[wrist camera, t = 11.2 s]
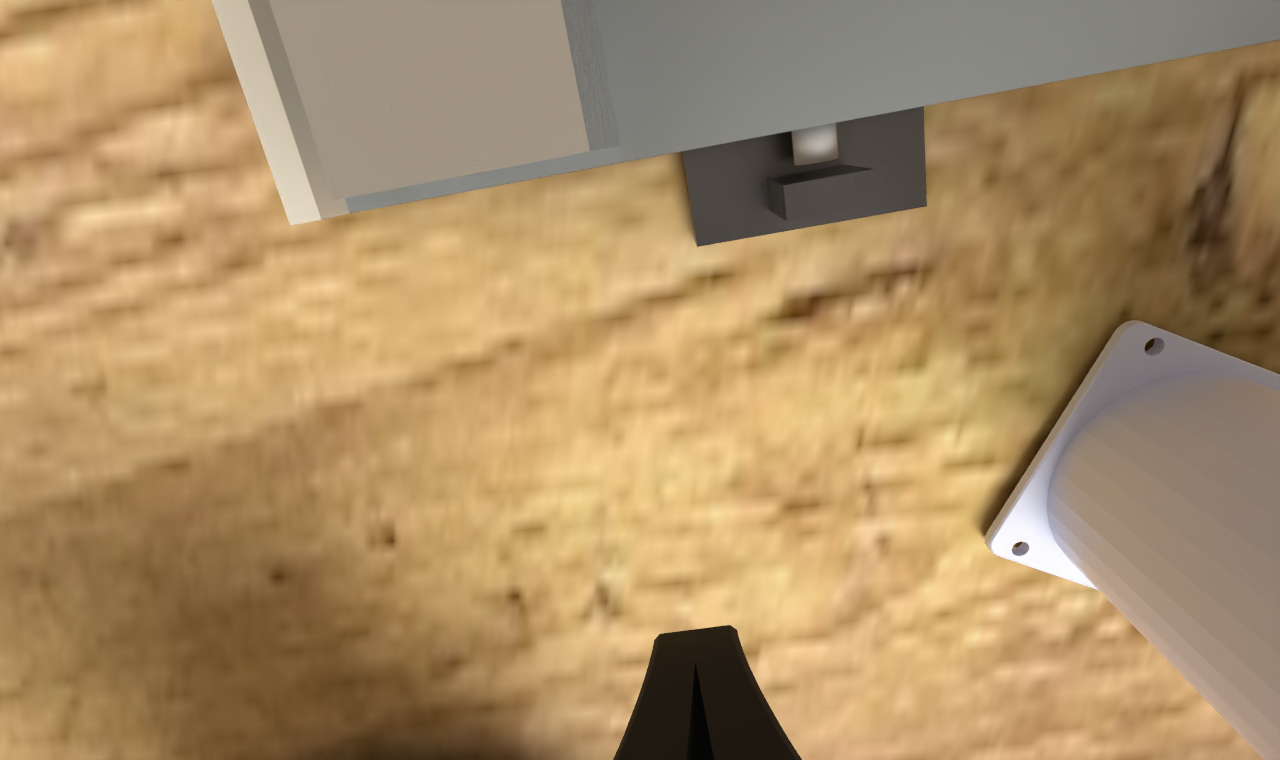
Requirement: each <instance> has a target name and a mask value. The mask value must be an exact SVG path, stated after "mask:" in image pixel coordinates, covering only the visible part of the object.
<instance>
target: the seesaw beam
mask: <svg viewBox="0 0 1280 760" xmlns="http://www.w3.org/2000/svg"><path fill="white" fill-rule="evenodd" d="M211 1H212V4H213V7H214V10H215V13H216V15H217V18H218V21H219V24H220V27H221V30H222V33H223V35H224V38H225V41H226V44H227V47H228V50H229V52H230V55H231V58H232V61H233V64H234V67H235V70H236V72H237V75H238V78H239V81H240V84H241V87H242V89H243V92H244V95H245V98H246V101H247V104H248V106H249V109H250V112H251V115H252V118H253V121H254V124H255V126H256V129H257V132H258V135H259V138H260V141H261V143H262V146H263V149H264V152H265V155H266V158H267V161H268V163H269V166H270V169H271V172H272V175H273V178H274V180H275V183H276V186H277V189H278V192H279V195H280V197H281V200H282V203H283V206H284V209H285V212H286V215H287V217H288V220H289V223H290V226H291V225H296V224H302V223H307V222H312V221H318V220H323V219H327V218H331V217H336V216H340V215H344V214H349V213H354V212H359V211H365V210H370V209H375V208H381V207H386V206H391V205H397V204H402V203H407V202H413V201H418V200H423V199H429V198H434V197H440V196H445V195H450V194H456V193H461V192H466V191H472V190H477V189H482V188H488V187H493V186H499V185H504V184H509V183H515V182H520V181H525V180H531V179H536V178H541V177H547V176H552V175H558V174H563V173H568V172H574V171H579V170H584V169H590V168H595V167H600V166H606V165H611V164H616V163H622V162H627V161H633V160H638V159H643V158H649V157H654V156H659V155H665V154H670V153H675V152H681V151H686V150H692V149H697V148H702V147H708V146H713V145H718V144H724V143H729V142H734V141H740V140H745V139H751V138H756V137H761V136H767V135H772V134H777V133H783V132H788V131H791V132H792V143H793V153H794V164H795V165H807V164H814V163H820V162H825V161H830V160H834V159H837V158H839V156H838V143H837V129H836V122H842V121H847V120H852V119H858V118H863V117H868V116H874V115H879V114H885V113H890V112H895V111H901V110H906V109H911V108H917V107H922V106H927V105H933V104H938V103H944V102H949V101H954V100H960V99H965V98H970V97H976V96H981V95H986V94H992V93H997V92H1002V91H1008V90H1013V89H1019V88H1024V87H1029V86H1035V85H1040V84H1045V83H1051V82H1056V81H1061V80H1067V79H1072V78H1078V77H1083V76H1088V75H1094V74H1099V73H1104V72H1110V71H1115V70H1120V69H1126V68H1131V67H1137V66H1142V65H1147V64H1153V63H1158V62H1163V61H1169V60H1174V59H1179V58H1185V57H1190V56H1195V55H1201V54H1206V53H1212V52H1217V51H1222V50H1228V49H1233V48H1238V47H1244V46H1249V45H1254V44H1260V43H1265V42H1271V41H1276V40H1280V0H594V1H595V7H596V12H597V18H598V23H599V29H600V35H601V40H602V46H603V51H604V57H605V62H606V68H607V74H608V79H609V85H610V90H611V96H612V101H613V107H614V113H615V118H616V124H617V129H618V135H619V140H620V146H616V147H611V148H605V149H600V150H595V151H590V152H584V153H579V154H574V155H569V156H564V157H558V158H553V159H548V160H543V161H538V162H532V163H527V164H522V165H517V166H511V167H506V168H501V169H496V170H491V171H485V172H480V173H475V174H470V175H465V176H459V177H454V178H449V179H444V180H438V181H433V182H428V183H423V184H418V185H412V186H407V187H402V188H397V189H391V190H386V191H381V192H376V193H370V194H365V195H360V196H355V197H350V198H344V199H339V200H334V198H333V195H332V192H331V189H330V186H329V183H328V180H327V177H326V174H325V171H324V168H323V165H322V162H321V158H320V155H319V152H318V149H317V146H316V143H315V140H314V137H313V134H312V131H311V128H310V125H309V122H308V119H307V116H306V112H305V109H304V106H303V103H302V100H301V97H300V94H299V91H298V88H297V85H296V82H295V79H294V76H293V73H292V70H291V66H290V63H289V60H288V57H287V54H286V51H285V48H284V45H283V42H282V39H281V36H280V33H279V30H278V27H277V24H276V20H275V17H274V14H273V11H272V8H271V5H270V2H269V0H211Z"/></svg>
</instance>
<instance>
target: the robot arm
mask: <svg viewBox="0 0 1280 760" xmlns="http://www.w3.org/2000/svg"><path fill="white" fill-rule="evenodd" d="M1153 338H1154V340H1155V341H1154V344H1153V346H1152V347H1151V348H1150V349H1149V350H1147V351H1145V349H1144V348H1145V345H1146V343H1147V342H1148V341H1149V340H1150V339H1153ZM1018 542H1022V544H1021V545H1020V546H1019V547H1017V548H1014V549H1012V547H1013V546H1014V545H1015V544H1016V543H1018ZM985 544H986V545H987V547H988V548H989V549H990V551H991V552H992V553H993V554H995V555H997V556H999V557H1002V558H1005V559H1008V560H1011V561H1014V562H1017V563H1020V564H1023V565H1026V566H1029V567H1032V568H1035V569H1038V570H1041V571H1044V572H1046V573H1049V574H1052V575H1055V576H1058V577H1061V578H1064V579H1067V580H1070V581H1073V582H1076V583H1079V584H1082V585H1085V586H1088V587H1091V588H1094V589H1097V590H1099V591H1100V592H1101V593H1102V594H1103V595H1104V596H1105V597H1106V598H1107V599H1108V600H1109V601H1110V602H1111V603H1112V604H1113V605H1114V606H1115V607H1116V608H1117V609H1118V610H1119V611H1120V612H1121V613H1122V614H1123V615H1124V616H1125V618H1126V619H1127V620H1128V621H1129V622H1130V623H1131V624H1132V625H1133V626H1134V627H1135V628H1136V629H1137V630H1138V631H1139V632H1140V633H1141V634H1142V635H1143V636H1144V637H1145V638H1146V639H1147V640H1148V641H1149V642H1150V643H1151V644H1152V645H1153V646H1154V647H1155V648H1156V649H1157V650H1158V651H1159V652H1160V653H1161V654H1162V655H1163V656H1164V657H1165V659H1166V660H1167V661H1168V662H1169V663H1170V664H1171V665H1172V666H1173V667H1174V668H1175V669H1176V670H1177V671H1178V672H1179V673H1180V674H1181V675H1182V676H1183V677H1184V678H1185V679H1186V680H1187V681H1188V682H1189V683H1190V684H1191V685H1192V686H1193V687H1194V688H1195V689H1196V690H1197V691H1198V692H1199V693H1200V694H1201V695H1202V696H1203V697H1204V698H1205V700H1206V701H1207V702H1208V703H1209V704H1210V705H1211V706H1212V707H1213V708H1214V709H1215V710H1216V711H1217V712H1218V713H1219V714H1220V715H1221V716H1222V717H1223V718H1224V719H1225V720H1226V721H1227V722H1228V723H1229V724H1230V725H1231V726H1232V727H1233V728H1234V729H1235V730H1236V731H1237V732H1238V733H1239V734H1240V735H1241V736H1242V737H1243V738H1244V739H1245V741H1246V742H1247V743H1248V744H1249V745H1250V746H1251V747H1252V748H1253V749H1254V750H1255V751H1256V752H1257V753H1258V754H1259V755H1260V756H1261V757H1262V758H1263V759H1264V760H1280V374H1277V373H1275V372H1272V371H1270V370H1267V369H1264V368H1262V367H1259V366H1257V365H1254V364H1251V363H1249V362H1246V361H1244V360H1241V359H1238V358H1236V357H1233V356H1231V355H1228V354H1225V353H1223V352H1220V351H1218V350H1215V349H1212V348H1210V347H1207V346H1205V345H1202V344H1199V343H1197V342H1194V341H1192V340H1189V339H1186V338H1184V337H1181V336H1179V335H1176V334H1173V333H1171V332H1168V331H1166V330H1163V329H1160V328H1158V327H1155V326H1153V325H1150V324H1147V323H1145V322H1142V321H1138V320H1131V321H1127V322H1125V323H1123V324H1122V325H1120V326H1119V327H1118V328H1117V329H1116V330H1115V332H1114V333H1113V335H1112V336H1111V338H1110V339H1109V341H1108V343H1107V344H1106V346H1105V347H1104V349H1103V351H1102V352H1101V354H1100V355H1099V357H1098V358H1097V360H1096V362H1095V363H1094V365H1093V366H1092V368H1091V369H1090V371H1089V373H1088V374H1087V376H1086V377H1085V379H1084V380H1083V382H1082V384H1081V385H1080V387H1079V388H1078V390H1077V391H1076V393H1075V395H1074V396H1073V398H1072V399H1071V401H1070V402H1069V404H1068V406H1067V407H1066V409H1065V410H1064V412H1063V413H1062V415H1061V417H1060V418H1059V420H1058V421H1057V423H1056V424H1055V426H1054V428H1053V429H1052V431H1051V432H1050V434H1049V435H1048V437H1047V439H1046V440H1045V442H1044V443H1043V445H1042V446H1041V448H1040V450H1039V451H1038V453H1037V454H1036V456H1035V457H1034V459H1033V461H1032V462H1031V464H1030V465H1029V467H1028V468H1027V470H1026V472H1025V473H1024V475H1023V476H1022V478H1021V479H1020V481H1019V483H1018V484H1017V486H1016V487H1015V489H1014V490H1013V492H1012V494H1011V495H1010V497H1009V498H1008V500H1007V501H1006V503H1005V505H1004V506H1003V508H1002V509H1001V511H1000V512H999V514H998V516H997V517H996V519H995V520H994V522H993V523H992V525H991V527H990V528H989V530H988V531H987V533H986V536H985ZM613 760H802V759H801V758H800V756H799V755H798V753H797V752H796V750H795V749H794V747H793V745H792V744H791V742H790V741H789V739H788V737H787V736H786V734H785V732H784V731H783V729H782V727H781V726H780V724H779V722H778V720H777V719H776V717H775V715H774V713H773V712H772V710H771V708H770V706H769V705H768V703H767V701H766V699H765V697H764V695H763V694H762V692H761V690H760V688H759V686H758V684H757V682H756V680H755V677H754V675H753V673H752V671H751V669H750V667H749V664H748V662H747V660H746V657H745V655H744V652H743V650H742V647H741V644H740V640H739V637H738V632H737V630H736V629H735V628H733V627H732V626H730V625H727V626H719V627H711V628H703V629H695V630H688V631H680V632H672V633H664V634H660V635H659V636H658V637H657V638H656V639H655V640H654V645H653V650H652V654H651V658H650V662H649V666H648V669H647V672H646V676H645V679H644V682H643V685H642V688H641V691H640V694H639V697H638V700H637V702H636V705H635V708H634V710H633V713H632V715H631V718H630V721H629V723H628V726H627V728H626V731H625V734H624V736H623V739H622V741H621V743H620V746H619V748H618V750H617V752H616V755H615V757H614V759H613Z"/></svg>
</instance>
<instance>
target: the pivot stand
mask: <svg viewBox="0 0 1280 760" xmlns="http://www.w3.org/2000/svg"><path fill="white" fill-rule="evenodd" d="M836 129H837V143H838V156H839V158H837V159H834V160H830V161H825V162H820V163H814V164H807V165H795V164H794V153H793V143H792V132H791V131H788V132H783V133H777V134H772V135H767V136H761V137H756V138H751V139H745V140H740V141H734V142H729V143H724V144H718V145H713V146H708V147H702V148H697V149H692V150H686V151H682V154H683V161H684V167H685V174H686V181H687V187H688V194H689V201H690V207H691V214H692V221H693V227H694V234H695V241H696V245H697V247H698V246H704V245H709V244H715V243H721V242H726V241H732V240H738V239H743V238H749V237H755V236H760V235H766V234H772V233H777V232H783V231H789V230H794V229H800V228H806V227H811V226H817V225H823V224H828V223H834V222H840V221H845V220H851V219H857V218H862V217H868V216H874V215H879V214H885V213H891V212H896V211H902V210H908V209H913V208H919V207H925V206H927V202H926V172H925V141H924V110H923V106H922V107H917V108H911V109H906V110H901V111H895V112H890V113H885V114H879V115H874V116H868V117H863V118H858V119H852V120H847V121H842V122H836Z"/></svg>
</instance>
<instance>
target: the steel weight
mask: <svg viewBox="0 0 1280 760" xmlns="http://www.w3.org/2000/svg"><path fill="white" fill-rule="evenodd" d="M269 2H270V5H271V8H272V11H273V14H274V17H275V20H276V24H277V27H278V30H279V33H280V36H281V39H282V42H283V45H284V48H285V51H286V54H287V57H288V60H289V63H290V66H291V70H292V73H293V76H294V79H295V82H296V85H297V88H298V91H299V94H300V97H301V100H302V103H303V106H304V109H305V112H306V116H307V119H308V122H309V125H310V128H311V131H312V134H313V137H314V140H315V143H316V146H317V149H318V152H319V155H320V158H321V162H322V165H323V168H324V171H325V174H326V177H327V180H328V183H329V186H330V189H331V192H332V195H333V198H334V200H339V199H344V198H350V197H355V196H360V195H365V194H370V193H376V192H381V191H386V190H391V189H397V188H402V187H407V186H412V185H418V184H423V183H428V182H433V181H438V180H444V179H449V178H454V177H459V176H465V175H470V174H475V173H480V172H485V171H491V170H496V169H501V168H506V167H511V166H517V165H522V164H527V163H532V162H538V161H543V160H548V159H553V158H558V157H564V156H569V155H574V154H579V153H584V152H590V151H595V150H600V149H605V148H611V147H616V146H620V140H619V135H618V129H617V124H616V118H615V113H614V107H613V101H612V96H611V90H610V85H609V79H608V74H607V68H606V62H605V57H604V51H603V46H602V40H601V35H600V29H599V23H598V18H597V12H596V7H595V1H594V0H269Z"/></svg>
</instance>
